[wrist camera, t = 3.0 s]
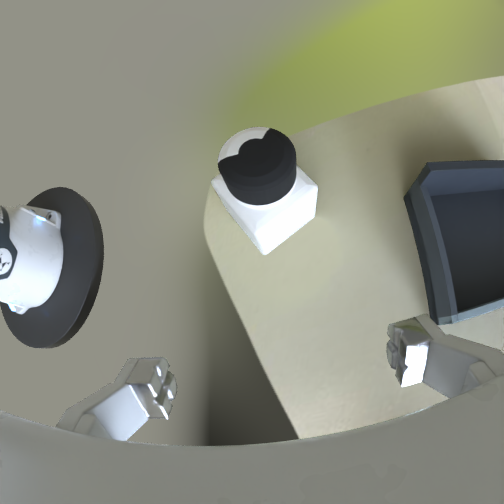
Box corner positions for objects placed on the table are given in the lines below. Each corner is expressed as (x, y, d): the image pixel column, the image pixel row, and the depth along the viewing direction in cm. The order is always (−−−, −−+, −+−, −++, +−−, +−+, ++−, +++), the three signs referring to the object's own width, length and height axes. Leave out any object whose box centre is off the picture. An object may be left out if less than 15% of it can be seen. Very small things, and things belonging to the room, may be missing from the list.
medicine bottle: (316, 216, 32) (323, 155, 20) (264, 257, 31) (244, 213, 20) (275, 173, 34) (262, 103, 22) (226, 209, 33) (191, 151, 22)
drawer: (530, 292, 24) (568, 280, 17) (431, 325, 26) (468, 321, 19) (502, 188, 28) (532, 160, 21) (403, 197, 31) (427, 162, 23)
